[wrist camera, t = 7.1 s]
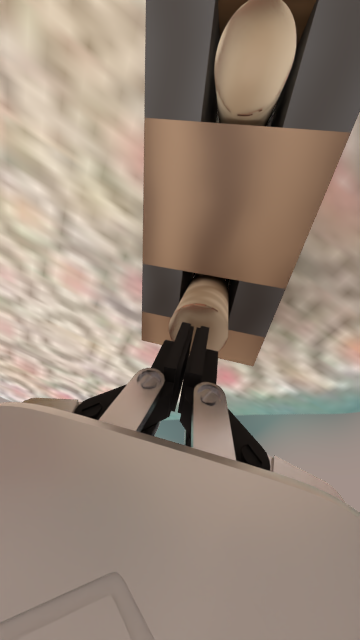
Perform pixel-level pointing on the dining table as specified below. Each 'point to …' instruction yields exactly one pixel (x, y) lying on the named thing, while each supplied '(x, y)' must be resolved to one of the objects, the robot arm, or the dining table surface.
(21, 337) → the dining table surface
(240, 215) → the banded wooden block
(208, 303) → the beech peg
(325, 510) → the robot arm
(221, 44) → the beech peg
